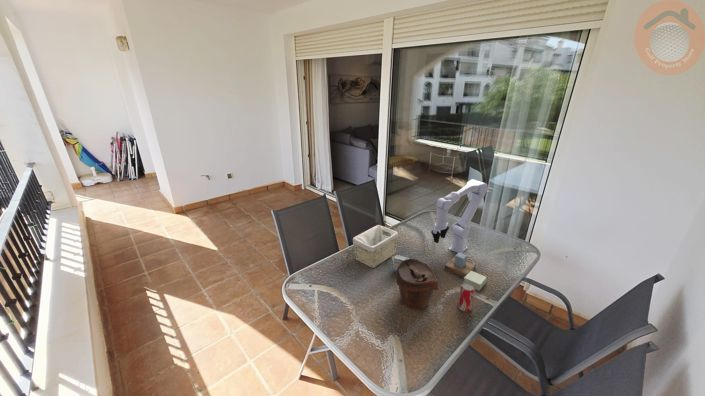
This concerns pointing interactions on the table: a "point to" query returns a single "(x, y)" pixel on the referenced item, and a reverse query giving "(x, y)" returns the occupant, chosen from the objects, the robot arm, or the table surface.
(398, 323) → the table surface
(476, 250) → the table surface
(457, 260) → the slate block
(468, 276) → the sage block
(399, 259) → the medicine box
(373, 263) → the storage basket
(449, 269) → the walnut block
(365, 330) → the table surface
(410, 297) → the brown lidded pot
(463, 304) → the beverage can
